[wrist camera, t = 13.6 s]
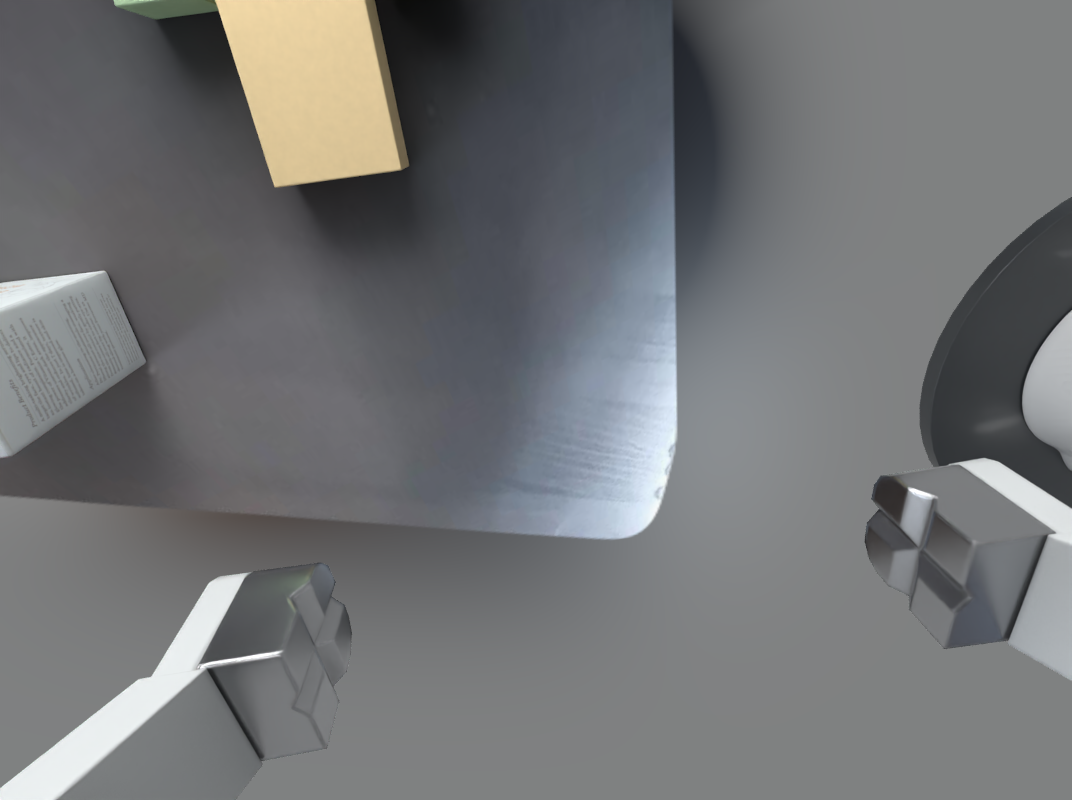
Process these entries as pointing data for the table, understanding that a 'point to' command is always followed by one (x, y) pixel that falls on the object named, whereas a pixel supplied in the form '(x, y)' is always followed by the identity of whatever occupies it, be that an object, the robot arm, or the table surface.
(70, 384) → the small box
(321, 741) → the robot arm
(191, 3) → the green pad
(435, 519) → the table surface
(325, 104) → the beige pad
